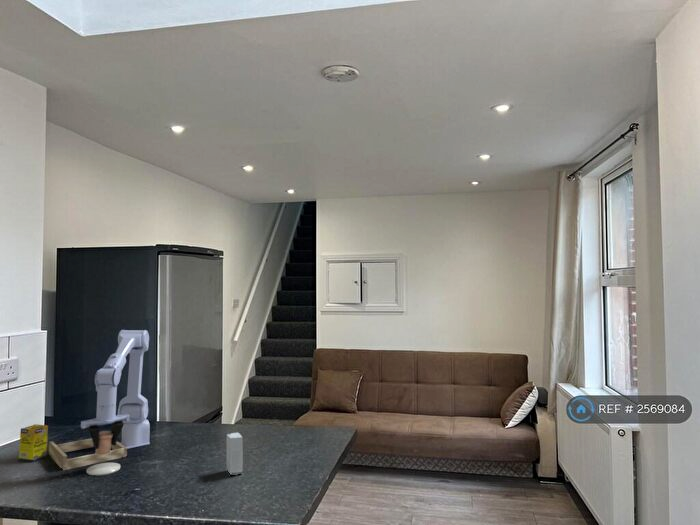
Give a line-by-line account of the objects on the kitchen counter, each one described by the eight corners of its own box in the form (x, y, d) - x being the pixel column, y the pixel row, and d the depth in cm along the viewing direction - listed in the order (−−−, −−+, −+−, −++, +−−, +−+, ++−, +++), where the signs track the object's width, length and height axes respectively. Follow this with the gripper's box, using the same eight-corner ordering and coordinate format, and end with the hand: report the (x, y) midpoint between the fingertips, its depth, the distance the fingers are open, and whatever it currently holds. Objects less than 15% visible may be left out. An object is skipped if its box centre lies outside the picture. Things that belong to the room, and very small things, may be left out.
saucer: (114, 462, 168) (114, 460, 168) (124, 470, 160) (124, 468, 160) (82, 469, 161) (82, 467, 161) (91, 478, 154) (91, 476, 154)
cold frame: (108, 443, 188) (108, 431, 188) (126, 456, 173) (127, 443, 174) (48, 454, 174) (49, 441, 174) (63, 470, 160) (63, 456, 160)
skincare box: (243, 474, 158) (244, 436, 159) (229, 476, 156) (230, 438, 157) (238, 468, 164) (239, 431, 165) (225, 470, 162) (226, 433, 163)
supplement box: (32, 462, 166) (34, 429, 167) (18, 460, 168) (19, 428, 168) (47, 456, 172) (48, 425, 173) (32, 455, 173) (34, 423, 174)
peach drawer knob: (108, 447, 165) (110, 430, 165) (113, 453, 162) (115, 435, 161) (92, 450, 162) (94, 432, 162) (97, 456, 158) (99, 437, 158)
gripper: (86, 410, 154) (84, 454, 153) (133, 403, 164) (131, 444, 163) (79, 406, 159) (77, 448, 158) (125, 400, 169) (124, 439, 168)
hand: (104, 446), depth 161 cm, fingers closed on peach drawer knob, 5 cm apart
